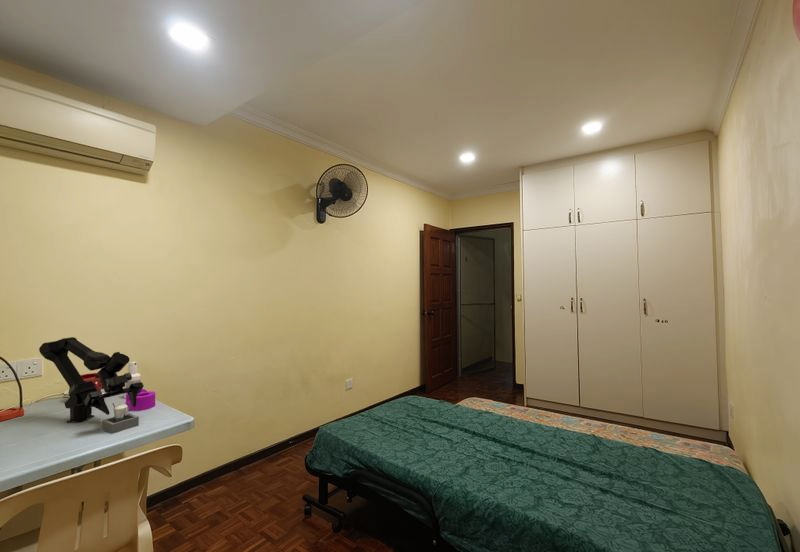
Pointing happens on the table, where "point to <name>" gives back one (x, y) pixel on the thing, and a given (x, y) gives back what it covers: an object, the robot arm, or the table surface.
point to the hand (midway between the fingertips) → (122, 410)
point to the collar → (120, 423)
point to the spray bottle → (135, 375)
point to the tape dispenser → (142, 401)
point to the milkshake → (120, 412)
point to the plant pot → (92, 378)
